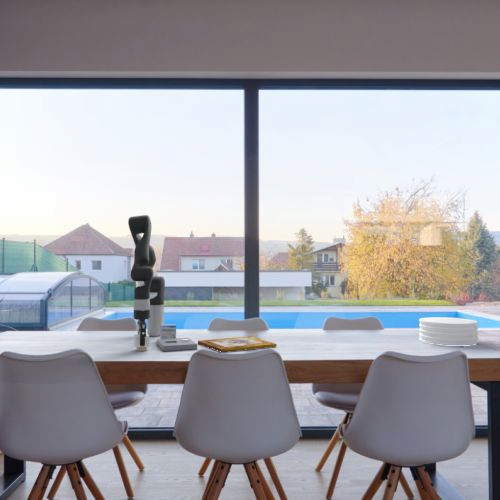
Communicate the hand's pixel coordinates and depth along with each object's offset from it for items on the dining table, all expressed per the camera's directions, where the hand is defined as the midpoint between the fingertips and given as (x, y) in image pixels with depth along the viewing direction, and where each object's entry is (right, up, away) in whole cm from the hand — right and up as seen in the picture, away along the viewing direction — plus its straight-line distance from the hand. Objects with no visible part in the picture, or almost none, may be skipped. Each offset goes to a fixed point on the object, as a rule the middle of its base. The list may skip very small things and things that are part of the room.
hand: (141, 344), depth 220 cm
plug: (0, -3, 0) cm, 3 cm away
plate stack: (+154, -4, +23) cm, 155 cm away
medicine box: (+8, -3, +24) cm, 26 cm away
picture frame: (+44, -4, +13) cm, 46 cm away
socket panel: (+15, -3, +8) cm, 17 cm away
